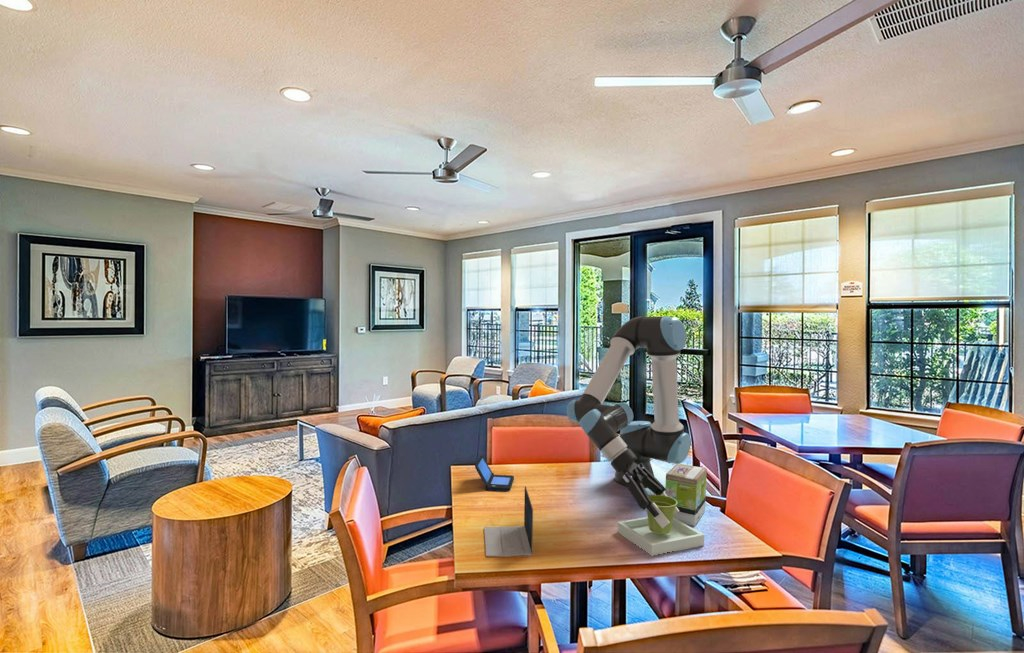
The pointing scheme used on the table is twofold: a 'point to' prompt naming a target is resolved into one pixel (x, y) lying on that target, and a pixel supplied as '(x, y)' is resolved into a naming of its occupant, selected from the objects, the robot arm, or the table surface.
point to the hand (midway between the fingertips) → (671, 519)
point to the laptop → (511, 536)
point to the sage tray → (660, 536)
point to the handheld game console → (493, 477)
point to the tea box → (687, 491)
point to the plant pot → (666, 507)
